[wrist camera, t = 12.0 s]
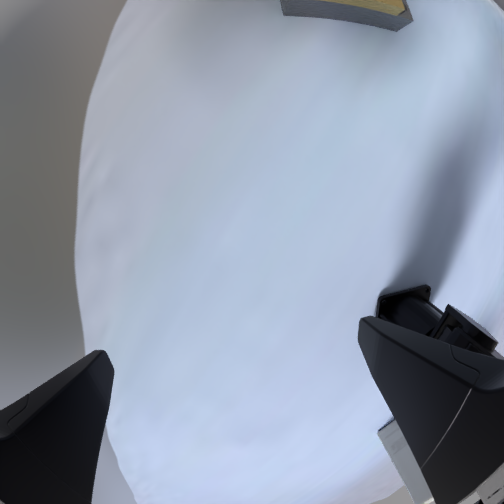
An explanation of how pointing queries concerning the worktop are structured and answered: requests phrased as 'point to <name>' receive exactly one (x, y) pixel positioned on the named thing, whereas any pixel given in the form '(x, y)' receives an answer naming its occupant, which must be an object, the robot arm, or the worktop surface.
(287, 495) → the worktop surface
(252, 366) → the worktop surface
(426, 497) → the skincare box
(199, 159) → the worktop surface
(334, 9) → the grey and tan tray
